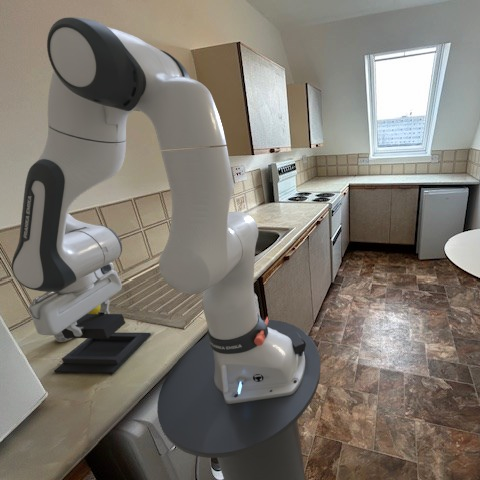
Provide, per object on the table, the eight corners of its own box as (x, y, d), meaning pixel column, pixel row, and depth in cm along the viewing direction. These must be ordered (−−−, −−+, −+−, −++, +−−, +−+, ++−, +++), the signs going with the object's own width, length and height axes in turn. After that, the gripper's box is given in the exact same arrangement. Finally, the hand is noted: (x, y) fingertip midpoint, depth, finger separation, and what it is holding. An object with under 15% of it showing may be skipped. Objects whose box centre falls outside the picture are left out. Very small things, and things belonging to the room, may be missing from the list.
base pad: (150, 334, 79) (148, 328, 78) (112, 374, 66) (109, 367, 65) (101, 334, 80) (99, 328, 79) (55, 372, 67) (51, 365, 66)
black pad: (125, 323, 72) (122, 314, 71) (107, 338, 67) (103, 329, 66) (85, 322, 73) (81, 313, 72) (64, 338, 68) (60, 328, 67)
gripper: (39, 303, 55) (66, 355, 60) (117, 260, 74) (133, 302, 79) (12, 303, 55) (41, 354, 60) (97, 260, 74) (113, 302, 79)
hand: (93, 324), depth 70 cm, fingers closed on black pad, 6 cm apart
